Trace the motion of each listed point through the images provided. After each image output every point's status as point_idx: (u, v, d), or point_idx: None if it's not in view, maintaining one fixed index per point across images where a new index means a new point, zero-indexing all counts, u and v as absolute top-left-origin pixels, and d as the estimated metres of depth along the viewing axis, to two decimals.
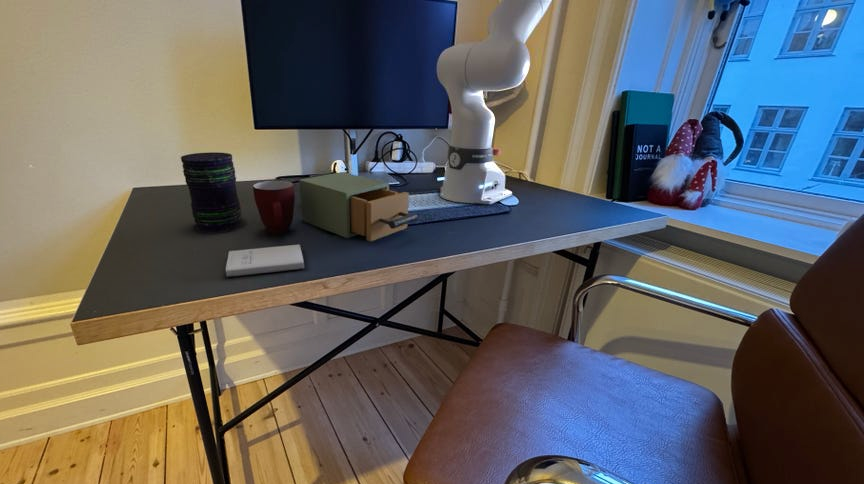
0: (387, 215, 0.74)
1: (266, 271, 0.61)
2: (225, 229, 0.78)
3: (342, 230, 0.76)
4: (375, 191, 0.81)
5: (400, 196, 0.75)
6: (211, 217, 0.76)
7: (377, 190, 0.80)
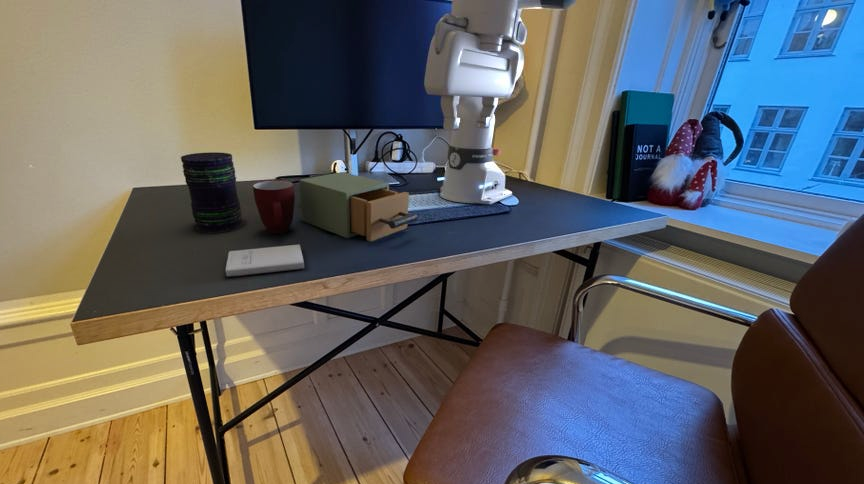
0: (387, 215, 0.74)
1: (266, 271, 0.61)
2: (225, 229, 0.78)
3: (342, 230, 0.76)
4: (375, 191, 0.81)
5: (400, 196, 0.75)
6: (211, 217, 0.76)
7: (377, 190, 0.80)
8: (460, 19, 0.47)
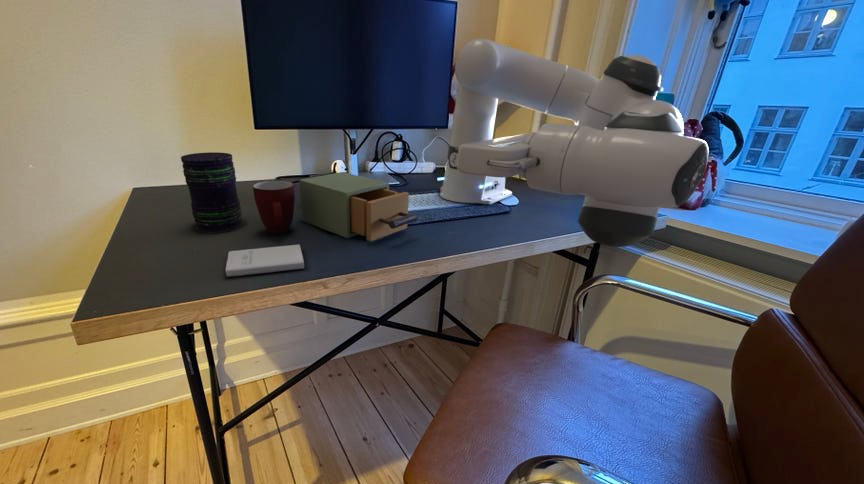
0: (387, 215, 0.74)
1: (266, 271, 0.61)
2: (225, 229, 0.78)
3: (342, 230, 0.76)
4: (375, 191, 0.81)
5: (400, 196, 0.75)
6: (211, 217, 0.76)
7: (377, 190, 0.80)
8: (530, 167, 0.46)
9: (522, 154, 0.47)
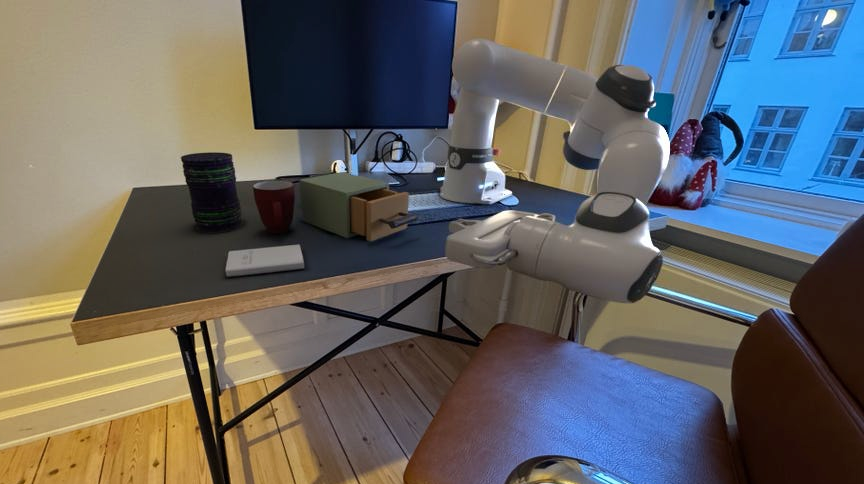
0: (387, 215, 0.74)
1: (266, 271, 0.61)
2: (225, 229, 0.78)
3: (342, 230, 0.76)
4: (375, 191, 0.81)
5: (400, 196, 0.75)
6: (211, 217, 0.76)
7: (377, 190, 0.80)
8: (509, 260, 0.53)
9: (502, 247, 0.53)
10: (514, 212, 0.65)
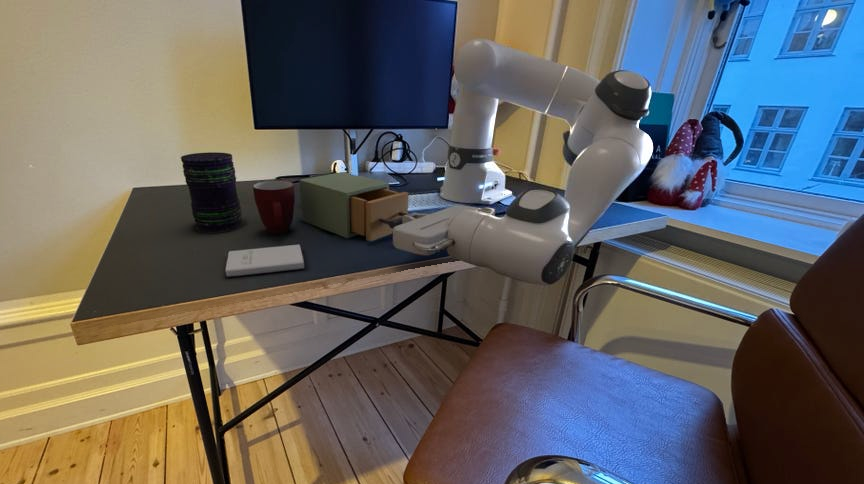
0: (387, 215, 0.74)
1: (266, 271, 0.61)
2: (225, 229, 0.78)
3: (342, 230, 0.76)
4: (375, 191, 0.81)
5: (400, 196, 0.75)
6: (211, 217, 0.76)
7: (377, 190, 0.80)
8: (446, 248, 0.59)
9: (441, 237, 0.60)
10: (462, 207, 0.72)
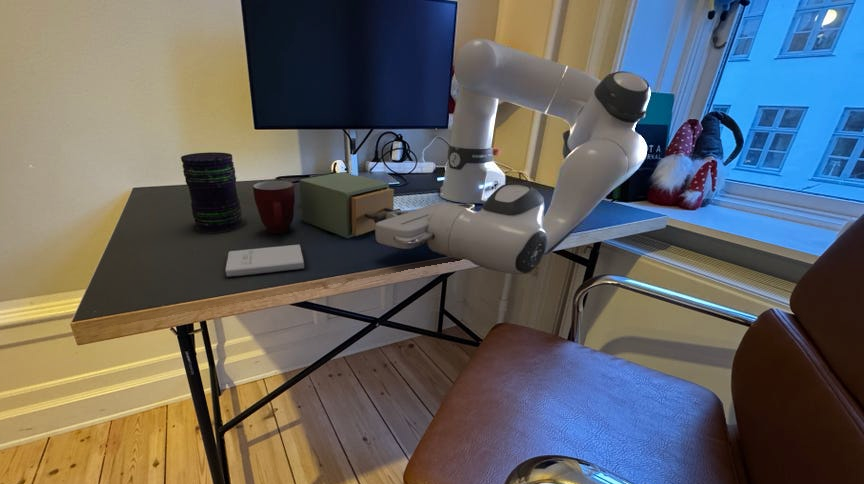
0: (372, 211, 0.76)
1: (266, 271, 0.61)
2: (225, 229, 0.78)
3: (342, 230, 0.76)
4: None
5: (385, 192, 0.77)
6: (211, 217, 0.76)
7: None
8: (426, 241, 0.62)
9: (421, 231, 0.62)
10: (444, 204, 0.75)
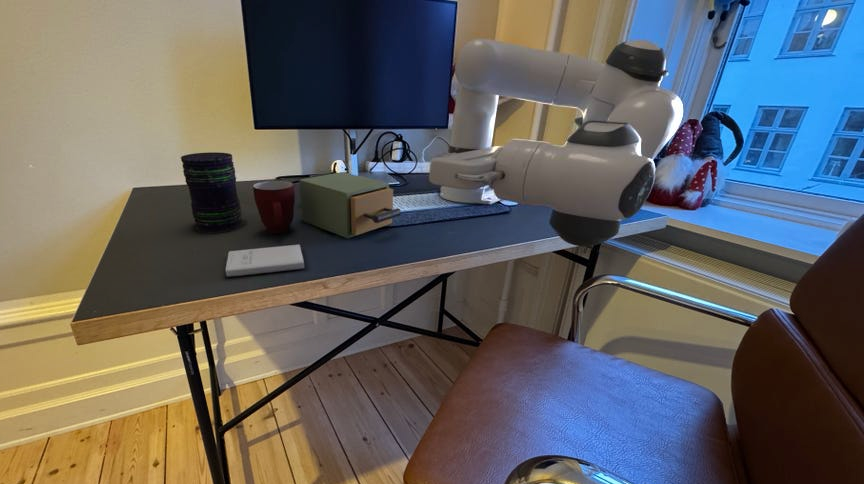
0: (372, 210, 0.76)
1: (266, 271, 0.61)
2: (225, 229, 0.78)
3: (342, 230, 0.76)
4: None
5: (384, 192, 0.77)
6: (211, 217, 0.76)
7: None
8: (495, 180, 0.50)
9: (488, 168, 0.51)
10: (504, 147, 0.63)
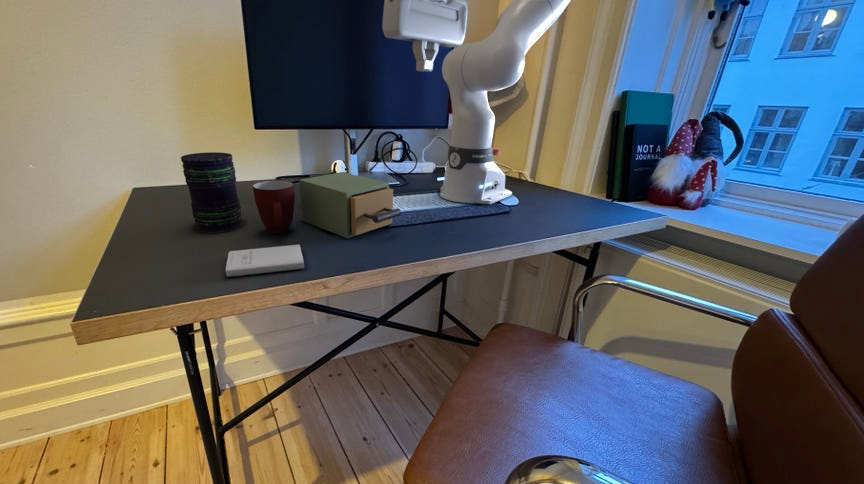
0: (372, 210, 0.76)
1: (266, 271, 0.61)
2: (225, 229, 0.78)
3: (342, 230, 0.76)
4: None
5: (384, 192, 0.77)
6: (211, 217, 0.76)
7: None
8: None
9: None
10: None
